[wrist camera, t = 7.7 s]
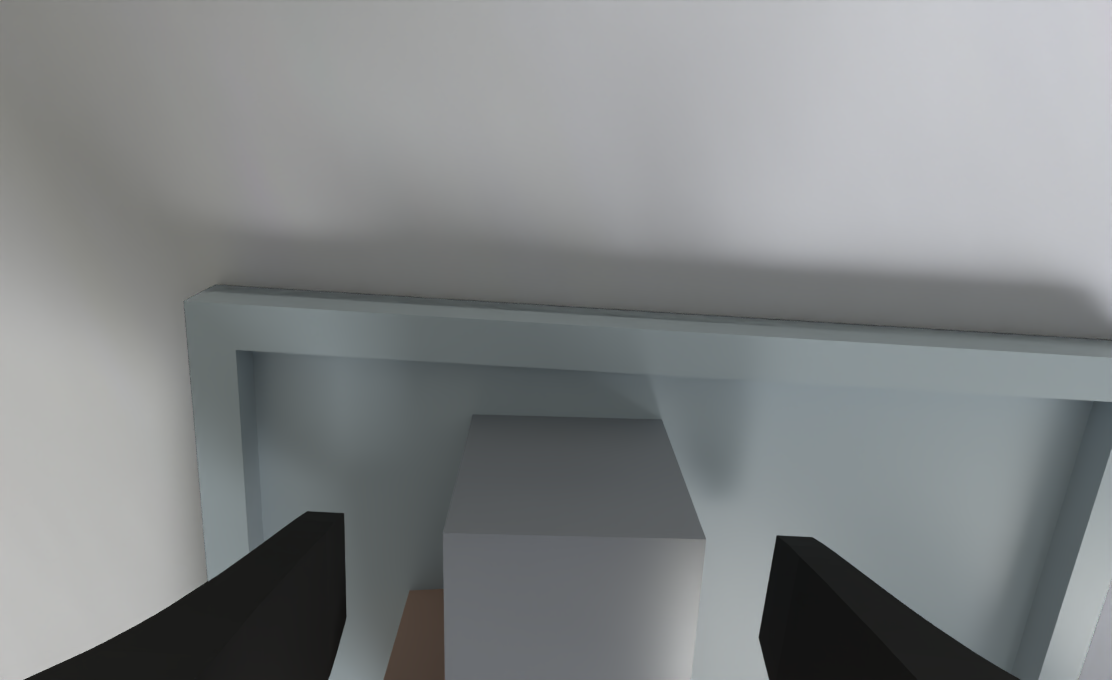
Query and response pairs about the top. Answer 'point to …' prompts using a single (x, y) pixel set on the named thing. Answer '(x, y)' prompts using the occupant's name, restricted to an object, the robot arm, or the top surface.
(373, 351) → the parts tray
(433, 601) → the cardboard tan cube
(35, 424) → the top surface
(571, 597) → the plain grey cube
